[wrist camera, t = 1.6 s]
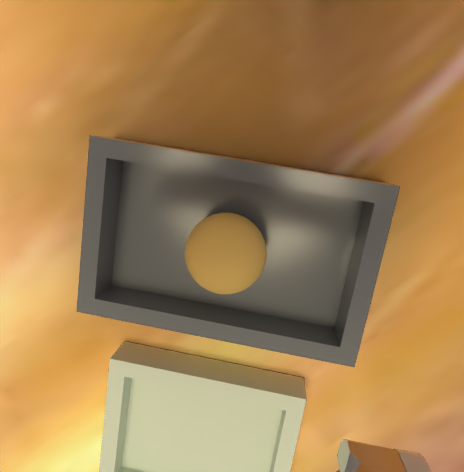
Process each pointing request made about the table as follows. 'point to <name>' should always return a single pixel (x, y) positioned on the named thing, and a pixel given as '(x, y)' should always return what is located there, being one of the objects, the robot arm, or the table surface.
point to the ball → (225, 253)
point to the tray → (197, 414)
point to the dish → (266, 220)
